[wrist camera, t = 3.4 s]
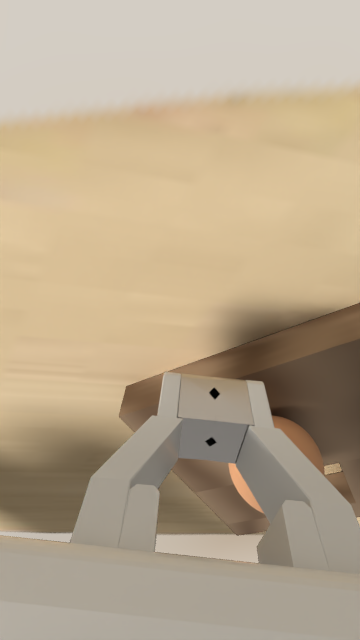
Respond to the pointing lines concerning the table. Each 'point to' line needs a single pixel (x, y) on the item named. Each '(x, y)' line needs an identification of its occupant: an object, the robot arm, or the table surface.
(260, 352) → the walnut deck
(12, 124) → the table surface
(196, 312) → the table surface
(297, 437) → the rubber ball
